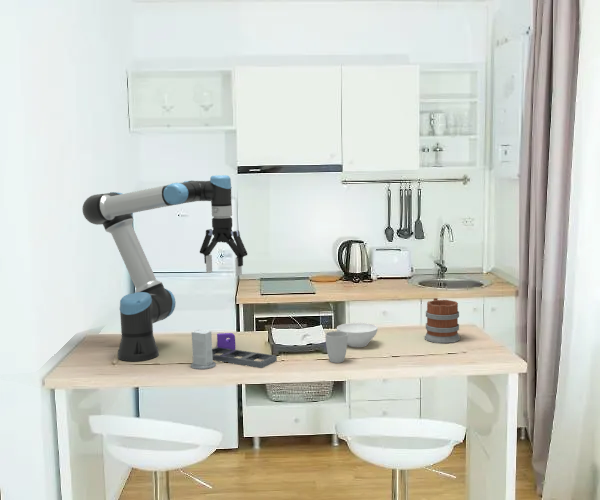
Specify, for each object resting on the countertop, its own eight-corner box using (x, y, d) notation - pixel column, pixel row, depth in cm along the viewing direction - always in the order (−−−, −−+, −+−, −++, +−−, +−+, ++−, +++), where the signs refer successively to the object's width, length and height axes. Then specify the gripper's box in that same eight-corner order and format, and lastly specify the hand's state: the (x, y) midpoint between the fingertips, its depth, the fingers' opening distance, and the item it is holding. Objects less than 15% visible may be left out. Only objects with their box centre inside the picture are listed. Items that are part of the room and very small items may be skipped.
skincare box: (213, 363, 275) (212, 331, 274) (206, 366, 272) (205, 333, 270) (199, 361, 278) (198, 329, 276) (192, 364, 274) (191, 332, 273)
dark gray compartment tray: (200, 358, 284) (200, 353, 284) (217, 351, 293) (216, 346, 292) (261, 368, 270) (261, 362, 270) (276, 360, 279) (276, 355, 279)
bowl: (379, 350, 291) (379, 332, 290) (337, 350, 291) (337, 332, 290) (376, 339, 307) (375, 322, 306) (336, 340, 307) (336, 322, 306)
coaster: (185, 367, 273) (185, 365, 273) (201, 360, 281) (201, 359, 281) (205, 370, 269) (205, 369, 269) (220, 364, 276) (220, 362, 276)
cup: (350, 358, 280) (350, 332, 279) (344, 364, 273) (344, 337, 271) (329, 356, 283) (329, 330, 281) (322, 363, 275) (322, 336, 274)
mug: (428, 344, 298) (428, 306, 296) (418, 332, 317) (418, 296, 315) (464, 343, 298) (464, 305, 296) (451, 331, 317) (451, 295, 315)
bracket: (235, 351, 294) (235, 334, 293) (217, 352, 294) (217, 334, 293) (234, 343, 306) (234, 326, 305) (217, 344, 305) (217, 327, 304)
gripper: (189, 217, 286) (191, 272, 289) (244, 219, 274) (245, 277, 277) (201, 215, 293) (203, 269, 295) (255, 217, 280) (257, 274, 283)
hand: (223, 273), depth 286 cm, fingers open, 13 cm apart
